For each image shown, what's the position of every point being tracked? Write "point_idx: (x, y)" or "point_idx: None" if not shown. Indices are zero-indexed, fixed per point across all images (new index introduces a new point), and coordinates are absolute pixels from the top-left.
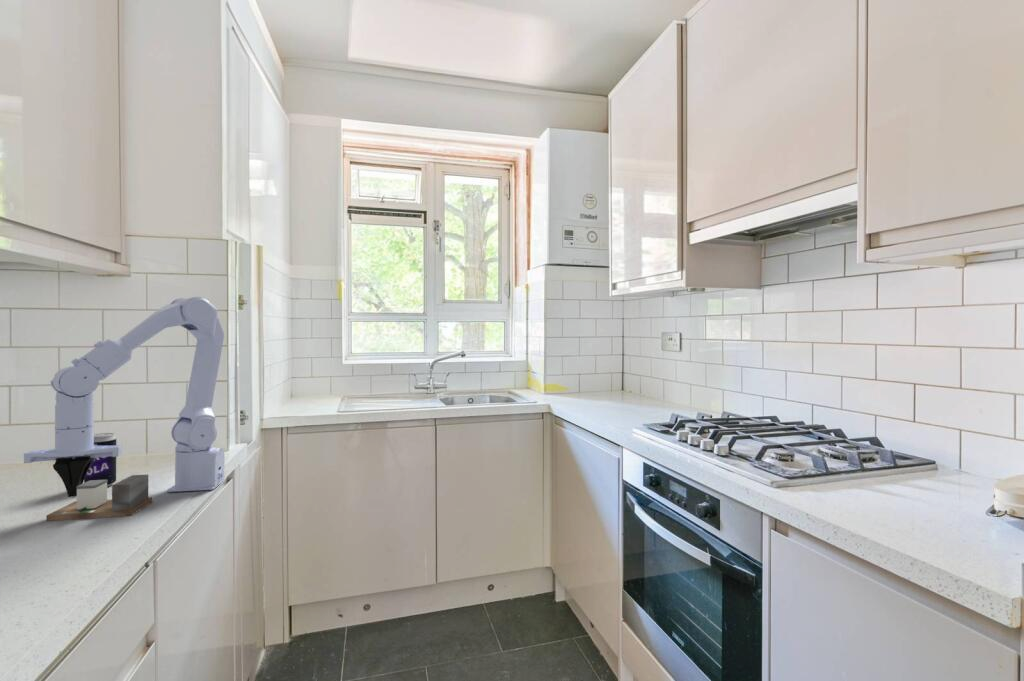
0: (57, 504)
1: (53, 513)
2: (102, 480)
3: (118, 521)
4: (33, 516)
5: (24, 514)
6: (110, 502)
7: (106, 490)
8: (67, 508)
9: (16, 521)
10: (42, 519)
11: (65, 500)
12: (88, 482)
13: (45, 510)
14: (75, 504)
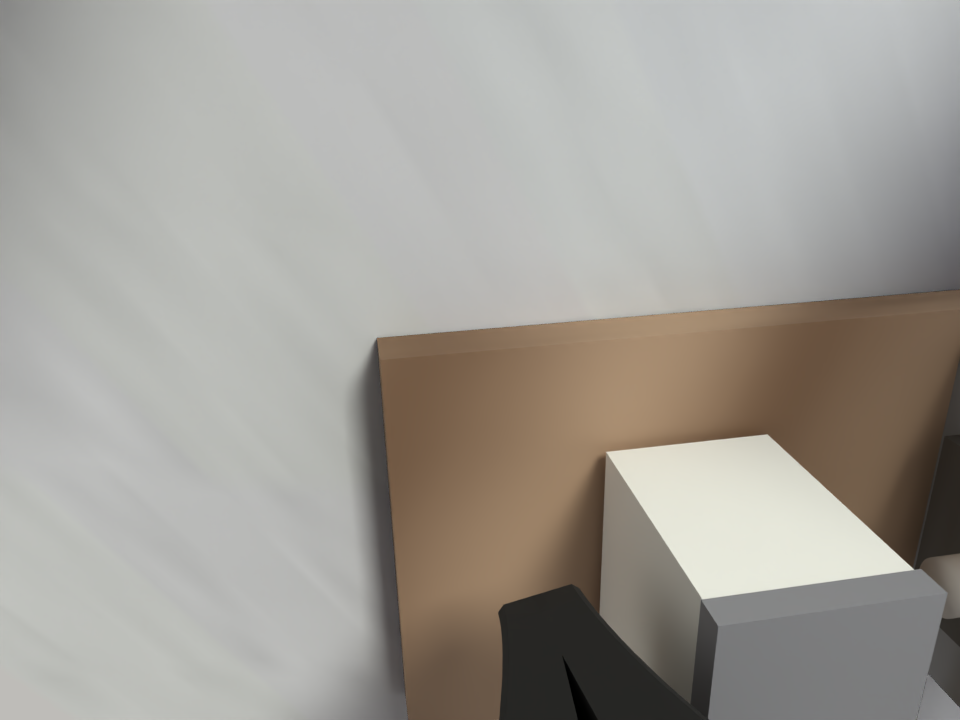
0: (88, 237)
1: (435, 693)
2: (899, 636)
3: (948, 698)
4: (178, 598)
5: (16, 546)
6: (796, 430)
7: (841, 512)
8: (470, 578)
9: (135, 704)
10: (339, 664)
11: (45, 63)
12: (755, 718)
13: (139, 442)
14: (465, 466)
